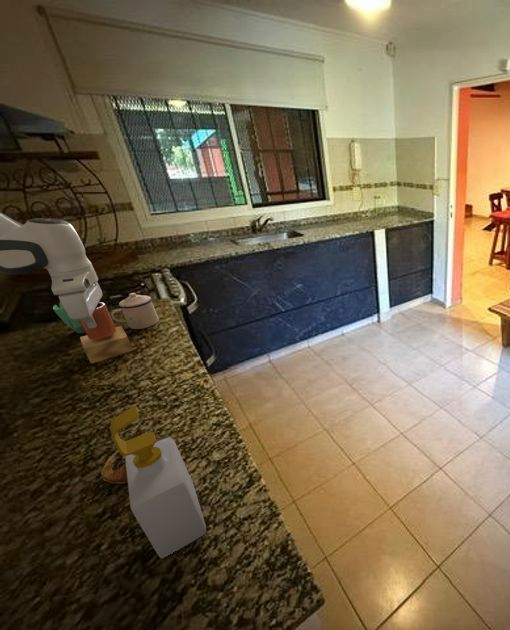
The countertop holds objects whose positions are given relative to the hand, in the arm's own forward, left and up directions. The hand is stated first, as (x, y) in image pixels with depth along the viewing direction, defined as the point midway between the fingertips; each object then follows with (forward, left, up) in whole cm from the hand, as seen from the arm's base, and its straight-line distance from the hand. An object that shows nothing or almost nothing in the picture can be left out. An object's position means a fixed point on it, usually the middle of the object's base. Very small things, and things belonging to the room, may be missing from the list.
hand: (96, 321), depth 101 cm
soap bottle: (+19, -74, -10) cm, 77 cm away
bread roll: (+12, -56, -10) cm, 58 cm away
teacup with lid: (+6, +16, -10) cm, 20 cm away
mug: (-9, +19, -10) cm, 23 cm away
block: (0, 0, -10) cm, 10 cm away
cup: (0, 0, -4) cm, 4 cm away
